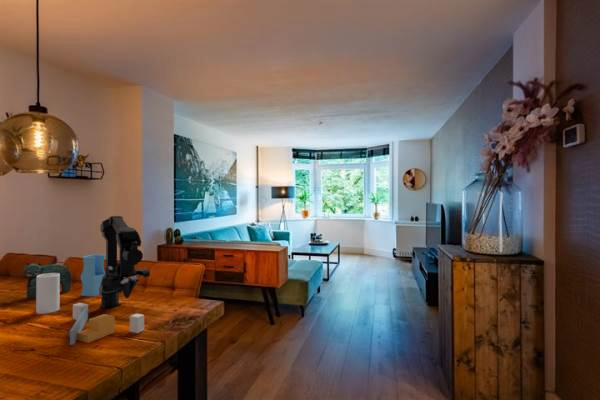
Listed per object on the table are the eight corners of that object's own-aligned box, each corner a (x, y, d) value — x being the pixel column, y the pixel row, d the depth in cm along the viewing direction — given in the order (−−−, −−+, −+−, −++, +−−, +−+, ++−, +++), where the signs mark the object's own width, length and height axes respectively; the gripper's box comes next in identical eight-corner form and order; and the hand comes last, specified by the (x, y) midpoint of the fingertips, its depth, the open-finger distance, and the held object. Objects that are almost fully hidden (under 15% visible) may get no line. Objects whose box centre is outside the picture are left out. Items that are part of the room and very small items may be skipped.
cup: (32, 314, 140) (32, 277, 140) (41, 308, 148) (42, 273, 148) (54, 312, 143) (54, 276, 142) (62, 306, 150) (62, 272, 150)
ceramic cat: (24, 300, 159) (24, 259, 159) (21, 297, 163) (22, 257, 163) (72, 291, 174) (72, 254, 174) (68, 289, 178) (69, 253, 178)
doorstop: (104, 329, 126) (104, 314, 126) (114, 332, 124) (114, 316, 123) (77, 339, 117) (77, 322, 117) (88, 342, 114) (88, 325, 114)
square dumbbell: (79, 316, 139) (79, 302, 139) (144, 330, 126) (144, 314, 126) (72, 319, 136) (72, 304, 136) (137, 333, 123) (137, 317, 123)
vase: (93, 296, 166) (93, 257, 166) (80, 295, 167) (80, 256, 167) (105, 292, 174) (106, 255, 173) (93, 291, 175) (93, 254, 175)
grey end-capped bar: (88, 318, 136) (88, 306, 136) (74, 344, 112) (74, 330, 112) (81, 319, 135) (81, 307, 135) (65, 345, 111) (65, 331, 111)
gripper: (131, 255, 145) (131, 289, 145) (91, 262, 128) (91, 302, 128) (150, 256, 141) (150, 292, 141) (112, 265, 124) (112, 305, 124)
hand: (126, 297), depth 133 cm, fingers closed
